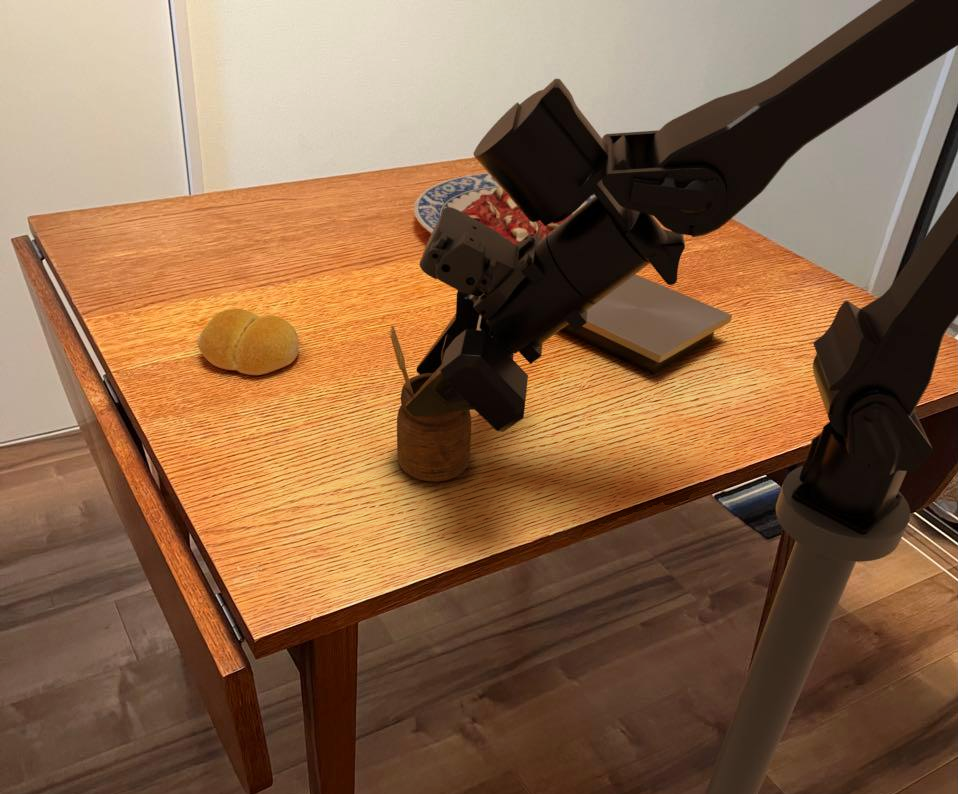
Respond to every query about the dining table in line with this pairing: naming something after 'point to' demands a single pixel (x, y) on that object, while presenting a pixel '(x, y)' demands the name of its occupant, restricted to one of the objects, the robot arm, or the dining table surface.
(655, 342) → the platform
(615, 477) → the dining table surface
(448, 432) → the utensil holder
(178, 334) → the dining table surface
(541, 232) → the ceramic plate
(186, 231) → the dining table surface
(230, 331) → the bread roll
